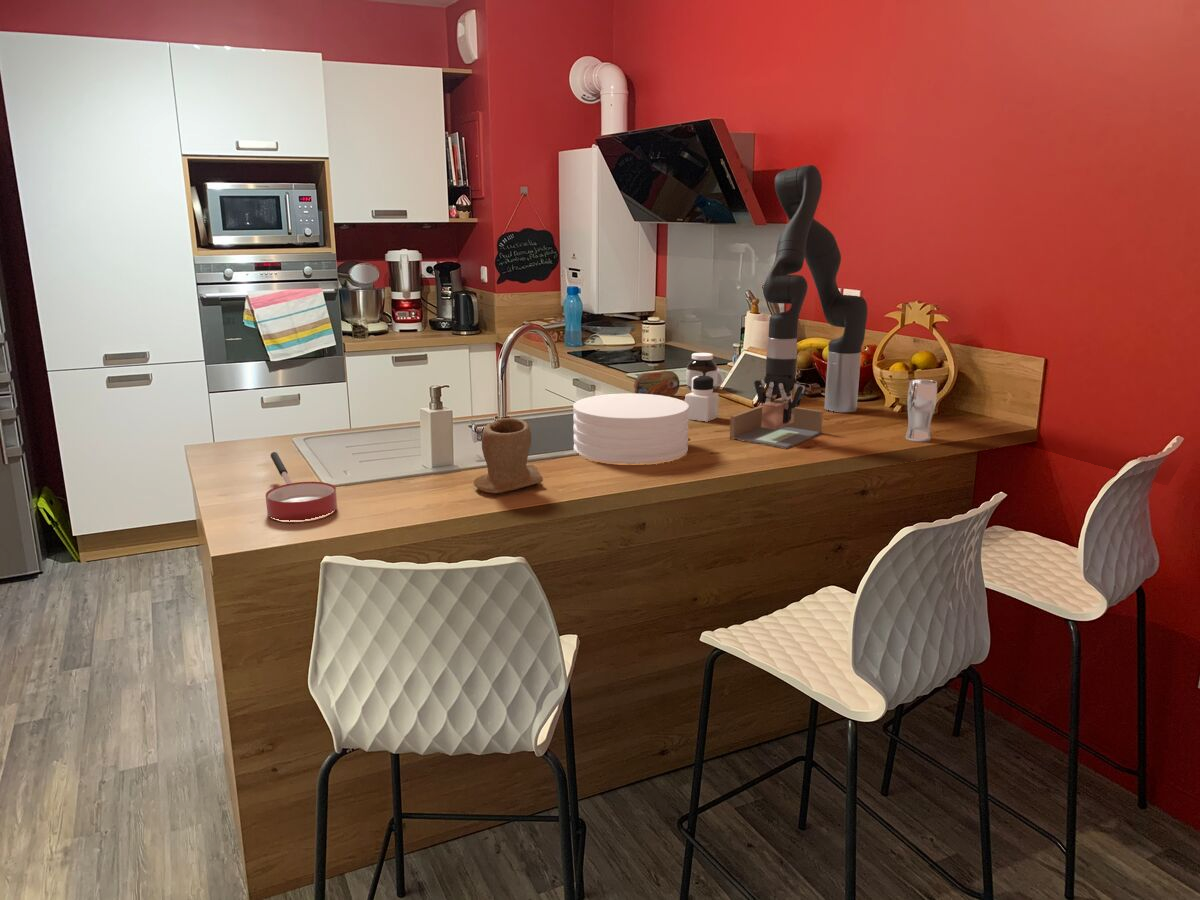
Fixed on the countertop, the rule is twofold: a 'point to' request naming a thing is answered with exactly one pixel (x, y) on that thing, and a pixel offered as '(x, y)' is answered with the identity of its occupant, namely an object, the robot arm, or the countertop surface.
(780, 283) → the robot arm
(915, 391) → the beer glass
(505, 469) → the stone cup
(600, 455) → the plate stack
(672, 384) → the tin
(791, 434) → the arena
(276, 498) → the frying pan
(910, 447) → the countertop surface
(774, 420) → the block
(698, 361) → the spread jar
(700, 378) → the medicine bottle
